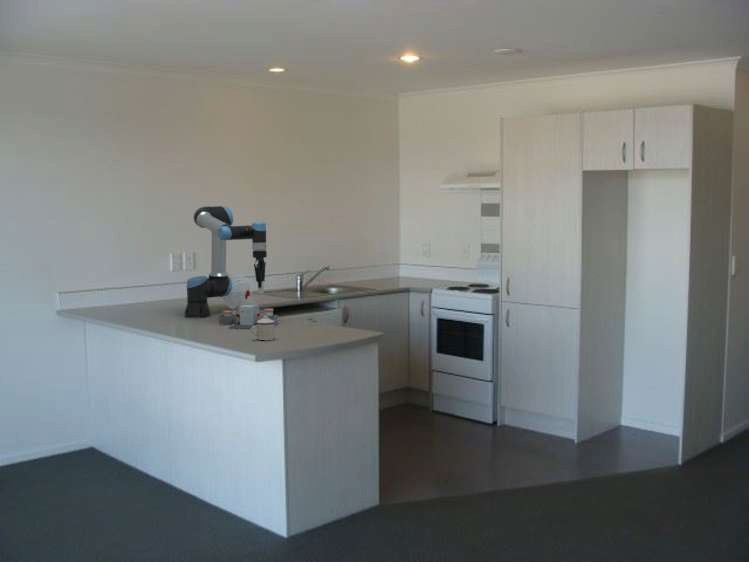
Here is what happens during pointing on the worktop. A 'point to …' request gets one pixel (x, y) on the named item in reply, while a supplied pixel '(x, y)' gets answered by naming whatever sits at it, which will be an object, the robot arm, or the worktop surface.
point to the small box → (248, 314)
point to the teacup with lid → (265, 329)
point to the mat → (242, 326)
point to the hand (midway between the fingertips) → (260, 293)
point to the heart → (236, 290)
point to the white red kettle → (247, 303)
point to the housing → (232, 320)
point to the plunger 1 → (227, 313)
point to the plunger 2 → (269, 312)
